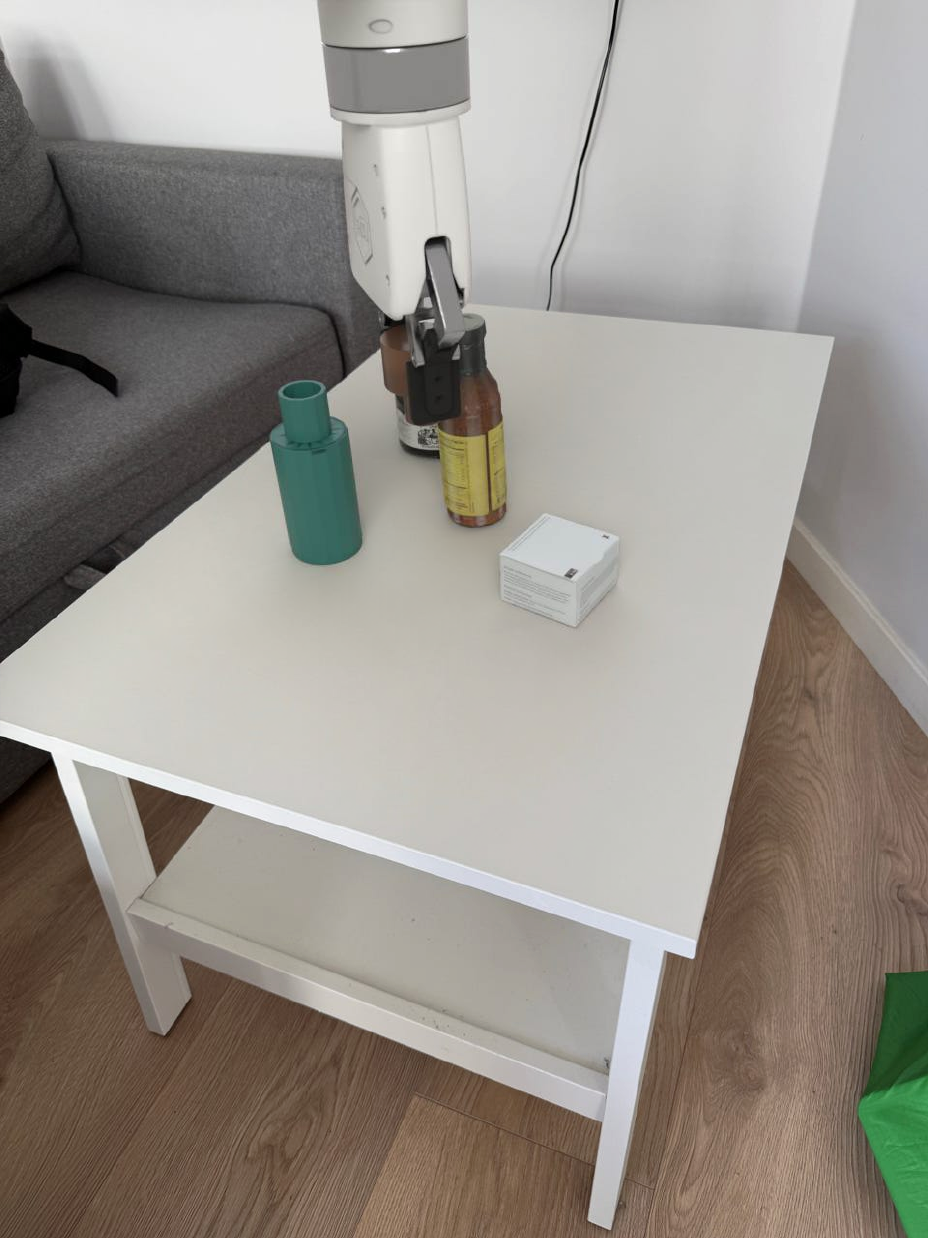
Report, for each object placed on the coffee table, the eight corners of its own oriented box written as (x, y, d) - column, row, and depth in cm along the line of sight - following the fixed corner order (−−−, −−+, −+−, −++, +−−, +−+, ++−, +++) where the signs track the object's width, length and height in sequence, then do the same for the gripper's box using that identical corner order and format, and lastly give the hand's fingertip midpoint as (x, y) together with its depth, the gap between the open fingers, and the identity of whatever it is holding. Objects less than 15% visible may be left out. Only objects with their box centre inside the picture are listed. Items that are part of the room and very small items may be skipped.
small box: (543, 556, 85) (544, 509, 82) (619, 583, 82) (623, 535, 78) (497, 600, 80) (496, 552, 77) (575, 631, 77) (578, 582, 73)
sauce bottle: (489, 491, 95) (484, 300, 82) (518, 519, 90) (517, 322, 78) (432, 508, 93) (417, 314, 80) (459, 538, 88) (448, 338, 76)
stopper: (400, 440, 58) (392, 357, 54) (379, 409, 61) (370, 329, 58) (471, 425, 59) (468, 343, 55) (446, 396, 62) (441, 316, 59)
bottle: (300, 572, 85) (270, 414, 75) (284, 535, 90) (254, 382, 80) (370, 554, 87) (350, 397, 77) (351, 519, 92) (329, 367, 82)
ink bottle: (388, 458, 101) (377, 354, 93) (403, 421, 108) (394, 321, 100) (476, 461, 100) (472, 356, 92) (485, 423, 106) (482, 322, 99)
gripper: (293, 65, 53) (334, 363, 65) (374, 116, 41) (406, 474, 52) (416, 53, 55) (434, 345, 67) (529, 97, 43) (527, 447, 54)
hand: (422, 398), depth 59 cm, fingers closed on stopper, 4 cm apart
